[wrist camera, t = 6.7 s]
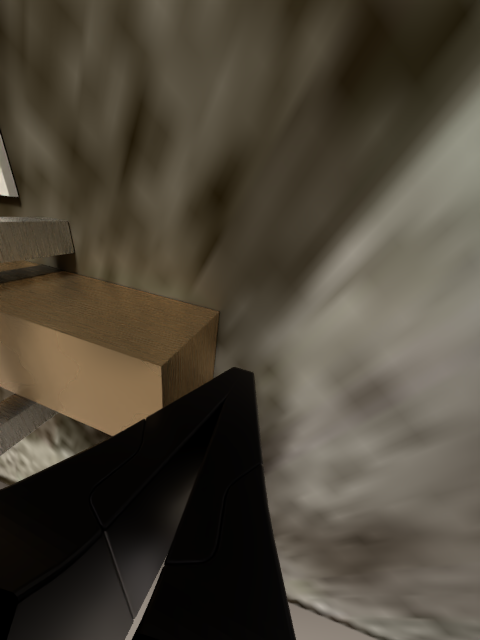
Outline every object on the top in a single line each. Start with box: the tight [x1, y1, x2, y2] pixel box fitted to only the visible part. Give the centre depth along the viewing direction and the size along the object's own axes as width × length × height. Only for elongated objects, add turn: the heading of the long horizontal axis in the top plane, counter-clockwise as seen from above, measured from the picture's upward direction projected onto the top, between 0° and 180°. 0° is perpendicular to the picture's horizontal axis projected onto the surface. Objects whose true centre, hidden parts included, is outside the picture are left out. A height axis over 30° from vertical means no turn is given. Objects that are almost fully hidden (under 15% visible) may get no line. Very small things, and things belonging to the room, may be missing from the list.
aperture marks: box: [0, 134, 18, 197], centre depth 11 cm, size 2×14×1 cm, turn 173°
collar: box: [0, 217, 74, 456], centre depth 8 cm, size 1×8×5 cm, turn 174°
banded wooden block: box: [0, 260, 219, 436], centre depth 9 cm, size 16×4×4 cm, turn 82°
